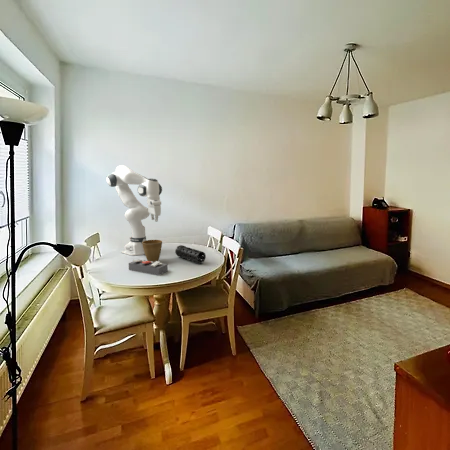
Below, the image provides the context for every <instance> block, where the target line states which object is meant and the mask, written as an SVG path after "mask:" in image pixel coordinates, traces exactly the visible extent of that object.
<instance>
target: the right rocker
mask: <svg viewBox="0 0 450 450" xmlns="http://www.w3.org/2000/svg"><path fill="white" fill-rule="evenodd" d="M160 263H161V261H159V260H158V261H156V262H154V263H153V264H152V265H151V266H153V267H156V266H158V264H160Z"/></svg>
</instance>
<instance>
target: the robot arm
mask: <svg viewBox="0 0 450 450" xmlns="http://www.w3.org/2000/svg"><path fill="white" fill-rule="evenodd" d="M105 181H106V183H107V185H108V187H114V188H115V190H116V192H117V196H118V197H119V198H120V200H121V202H122V204H123V206H125V207H127V208H128V209H127V210H126V211H125V213H124V218H125V220H126V221H127V222H128V223H129V226H130V230H131V237H129V240H130V241H129V242H127V243H126V244H125V245H124V249H123V250H121V254H125V255H128V256H133V257H134V256H139V255H140V256H142V255H145V253H144V249H143V245H142V242H143V241H146V240H147V236H146V226H145V225H143V223H142V220H145V219H147V218H149V216H150V218H151V220H152V221H154V222H159V217H160V216H161V214H162V207H161V205H162V201H161V199H160V198H161V197H160V195H161V194H162V192H163V187H162V185H161V184H160V183H159V180H158V179H156V178H148V177H147V176H143V175H141V174H139V173H137V172H136V171H134V170H133V169H131V168H130V167H128V166H126V165H125V164H121V165H118V166H117V167H116V168H115V171H113V172H112V173H109V174H107V176H106V177H105ZM129 185H133V186H134V185H138V186H137V193H138V195H139V196H140V197H144V198H145V197H146V201H147V205H148V206H147V207H146V206H144V205H143V204H142V203H141V202H140V201H139V200H138V199H137V197H136V195H135V194H134V193H133V191H132V189H131V188H130V186H129Z"/></svg>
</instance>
